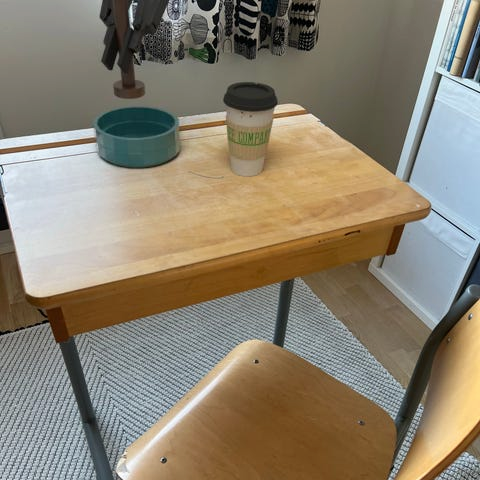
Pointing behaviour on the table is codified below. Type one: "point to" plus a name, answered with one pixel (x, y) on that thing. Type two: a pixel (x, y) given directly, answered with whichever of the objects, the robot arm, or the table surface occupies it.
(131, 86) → the brown pestle
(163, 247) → the table surface
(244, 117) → the coffee cup
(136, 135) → the bowl
